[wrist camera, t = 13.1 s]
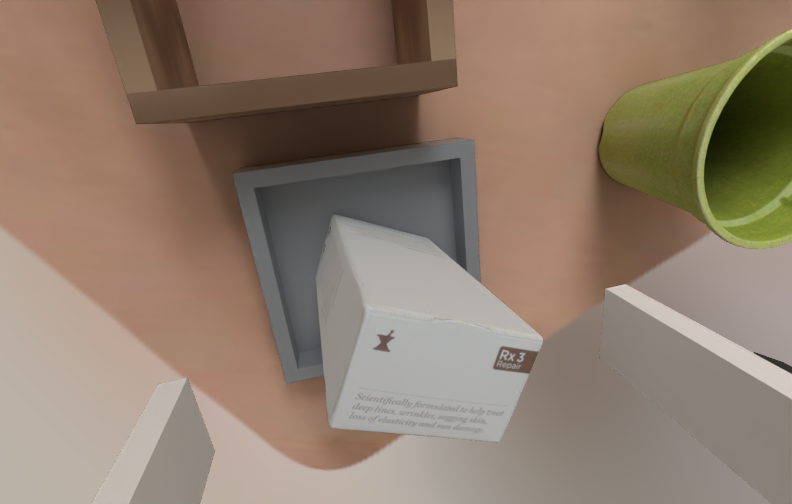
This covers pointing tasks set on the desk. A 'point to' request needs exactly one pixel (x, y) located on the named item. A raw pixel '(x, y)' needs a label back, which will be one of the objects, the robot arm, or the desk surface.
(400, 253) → the skincare box
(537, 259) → the desk surface
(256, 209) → the charcoal tray
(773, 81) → the plant pot
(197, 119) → the walnut box
